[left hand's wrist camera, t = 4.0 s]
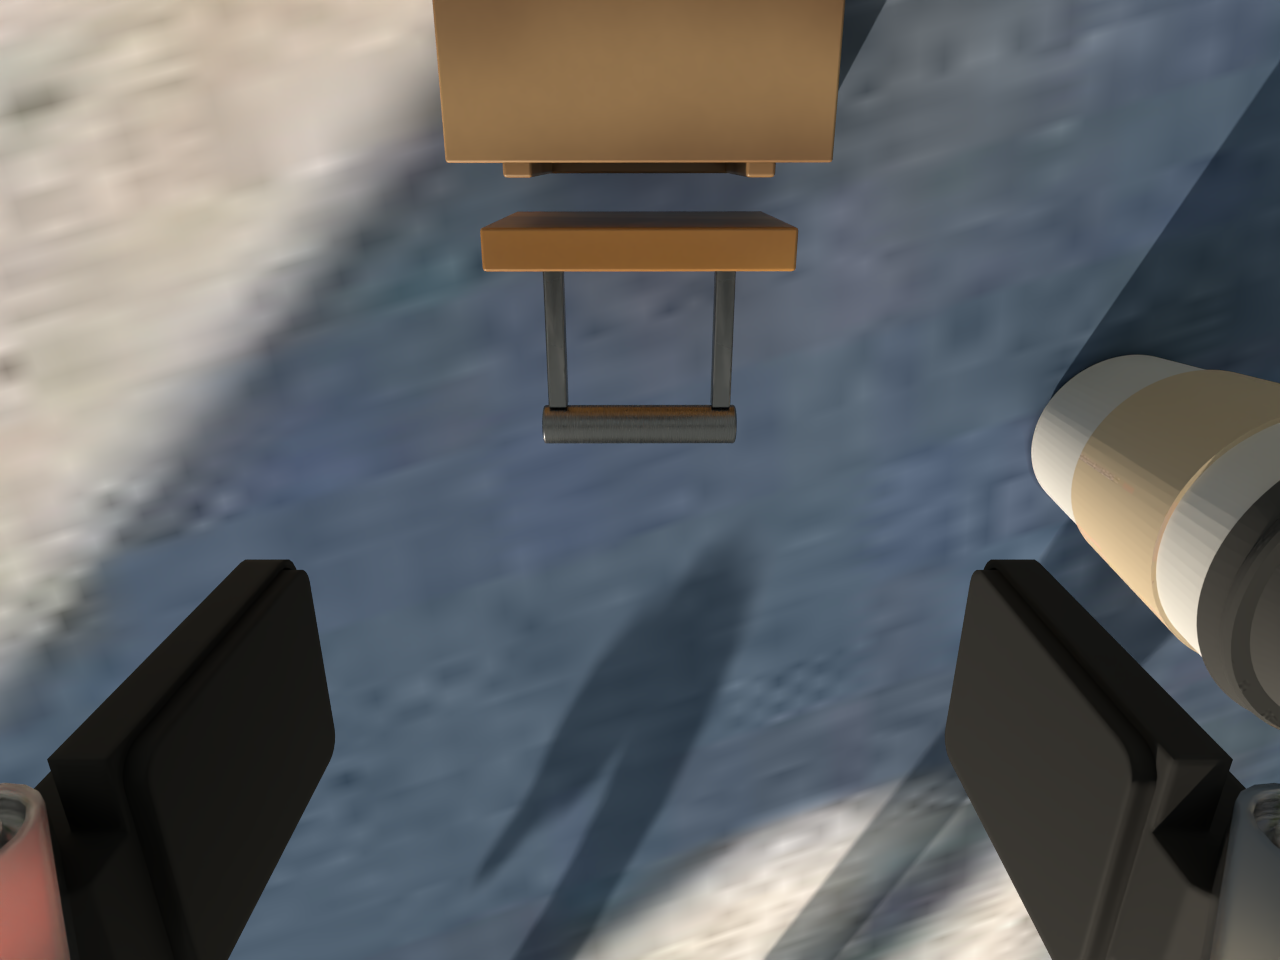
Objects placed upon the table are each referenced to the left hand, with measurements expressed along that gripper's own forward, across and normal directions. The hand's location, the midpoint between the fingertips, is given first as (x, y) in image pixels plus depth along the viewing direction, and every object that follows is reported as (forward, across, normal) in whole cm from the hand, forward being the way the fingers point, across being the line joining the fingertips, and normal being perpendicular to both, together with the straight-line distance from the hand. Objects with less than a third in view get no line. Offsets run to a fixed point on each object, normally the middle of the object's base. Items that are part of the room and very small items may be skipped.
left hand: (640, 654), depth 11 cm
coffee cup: (+22, +19, -4) cm, 30 cm away
